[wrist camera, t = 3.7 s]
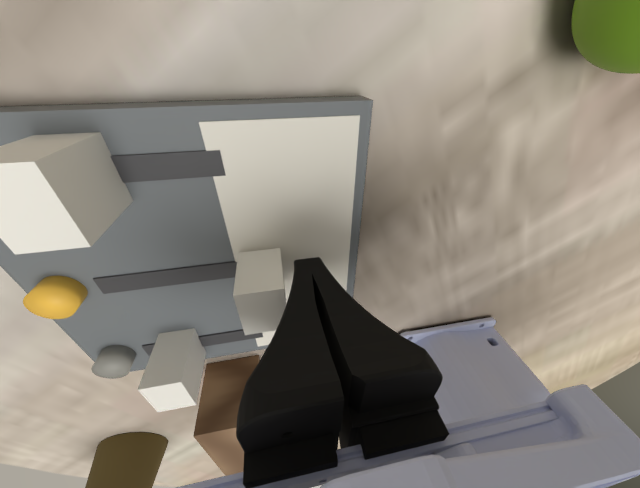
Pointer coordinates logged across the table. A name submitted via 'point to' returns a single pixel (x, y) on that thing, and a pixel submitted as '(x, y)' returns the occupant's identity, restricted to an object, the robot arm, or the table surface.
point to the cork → (127, 461)
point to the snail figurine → (608, 33)
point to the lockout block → (223, 411)
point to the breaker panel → (173, 220)
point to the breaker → (259, 290)
